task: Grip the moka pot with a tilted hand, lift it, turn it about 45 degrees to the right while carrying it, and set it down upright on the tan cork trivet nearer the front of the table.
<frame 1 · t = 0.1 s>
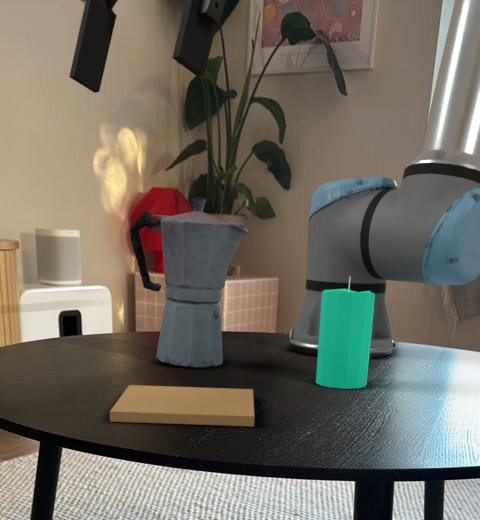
hand: (132, 77, 61), 28 cm above the table, tool tilted 20°, fingers open, 13 cm apart
cork trivet: (186, 409, 73), on the table
moka pot: (186, 363, 99), on the table
candle: (341, 385, 88), on the table
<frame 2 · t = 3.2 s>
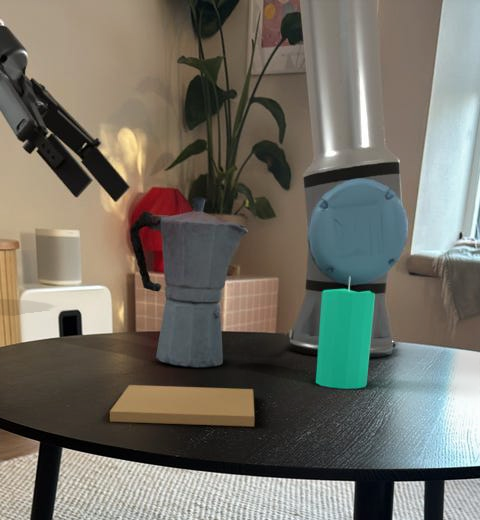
hand: (104, 192, 93), 20 cm above the table, tool tilted 45°, fingers open, 13 cm apart
nothing on the table moved.
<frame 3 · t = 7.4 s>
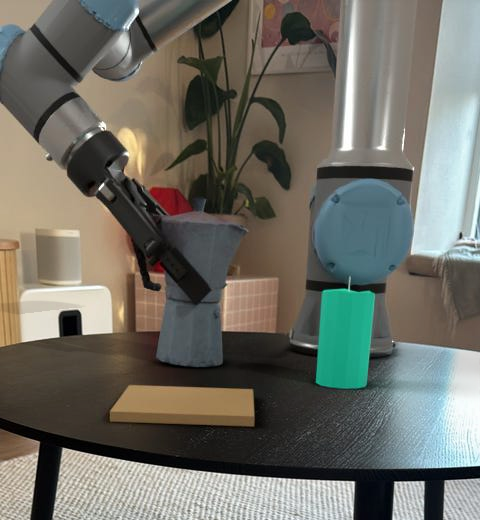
hand: (212, 294, 95), 9 cm above the table, tool tilted 45°, fingers closed on moka pot, 8 cm apart
moka pot: (186, 363, 99), on the table, touching gripper
everything else where it was.
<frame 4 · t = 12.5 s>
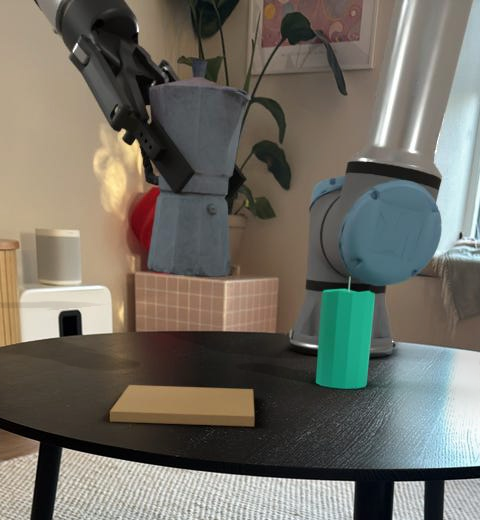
hand: (212, 185, 76), 21 cm above the table, tool tilted 45°, fingers closed on moka pot, 8 cm apart
moka pot: (185, 275, 81), point 12 cm above the table, touching gripper
everything else where it was.
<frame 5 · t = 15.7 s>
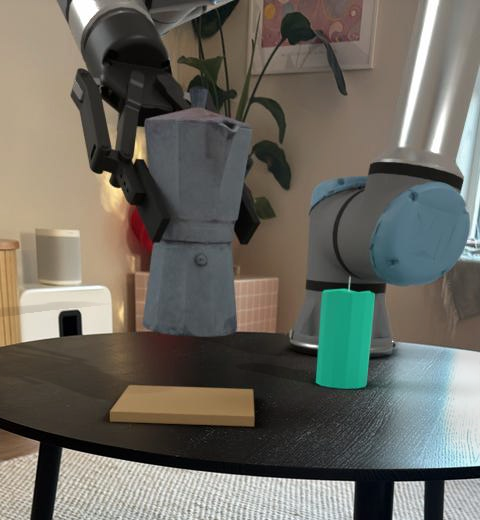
hand: (207, 232, 65), 16 cm above the table, tool tilted 45°, fingers closed on moka pot, 8 cm apart
moka pot: (186, 332, 71), point 7 cm above the table, touching gripper
everything else where it was.
when the fingers open (10 cm above the table, at t = 17.9 s): moka pot stays where it is, resting on cork trivet.
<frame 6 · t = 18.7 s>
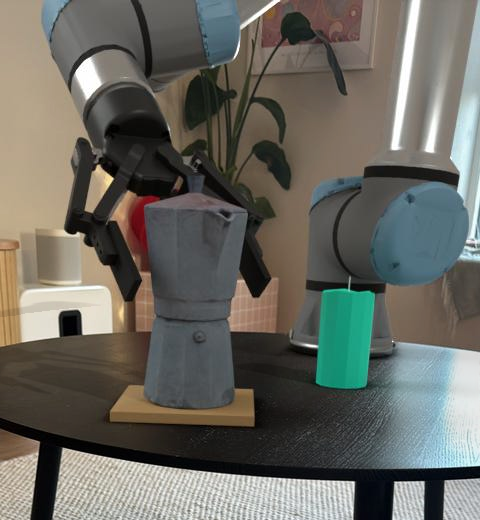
hand: (201, 290, 68), 11 cm above the table, tool tilted 45°, fingers open, 13 cm apart
moka pot: (186, 401, 73), point 1 cm above the table, touching cork trivet
everything else where it was.
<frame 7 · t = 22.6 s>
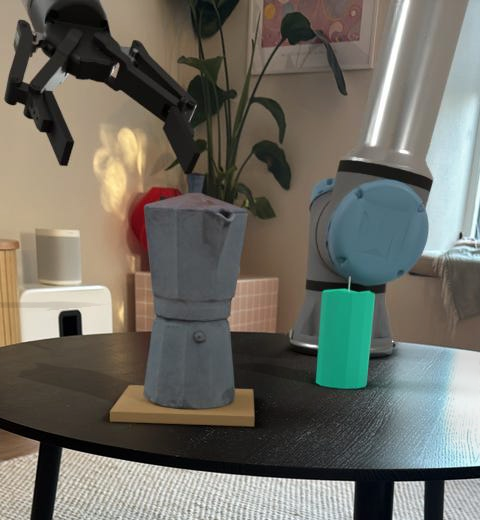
hand: (133, 159, 73), 23 cm above the table, tool tilted 45°, fingers open, 13 cm apart
nothing on the table moved.
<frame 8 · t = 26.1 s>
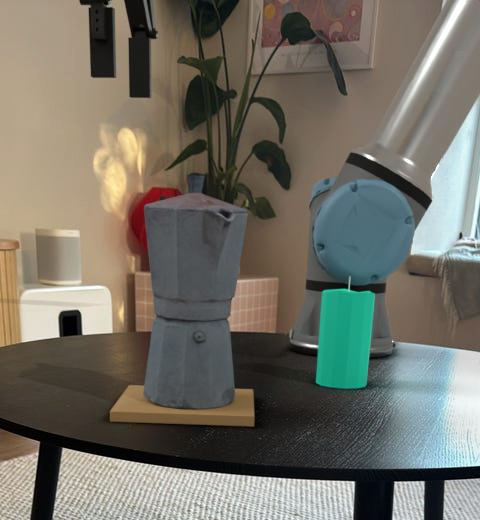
hand: (123, 88, 90), 32 cm above the table, tool pointing down, fingers open, 13 cm apart
nothing on the table moved.
at the end: moka pot inside the target area on the cork trivet (0.1 cm from its centre), point 0.8 cm above the cork trivet's base; moka pot tilted 0°; moka pot moved 27.0 cm from its start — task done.
